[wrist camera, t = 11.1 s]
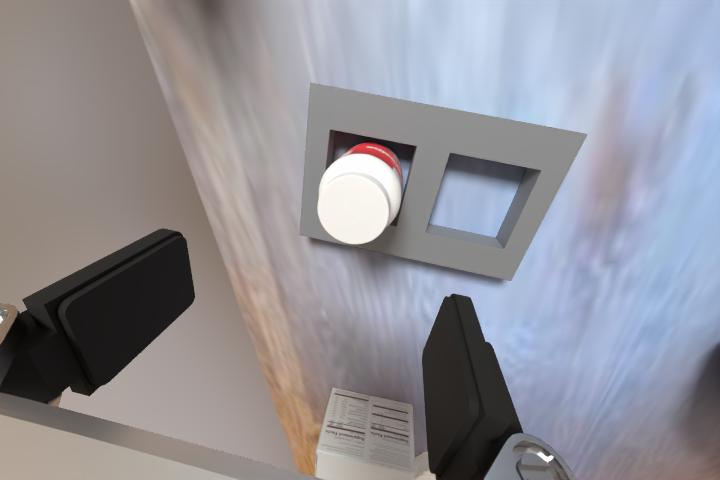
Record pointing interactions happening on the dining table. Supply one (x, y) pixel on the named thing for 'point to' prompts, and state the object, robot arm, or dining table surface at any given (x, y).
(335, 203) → the pill bottle
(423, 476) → the cake
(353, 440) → the supplement box
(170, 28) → the dining table surface
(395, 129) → the rail
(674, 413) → the dining table surface
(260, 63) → the dining table surface
